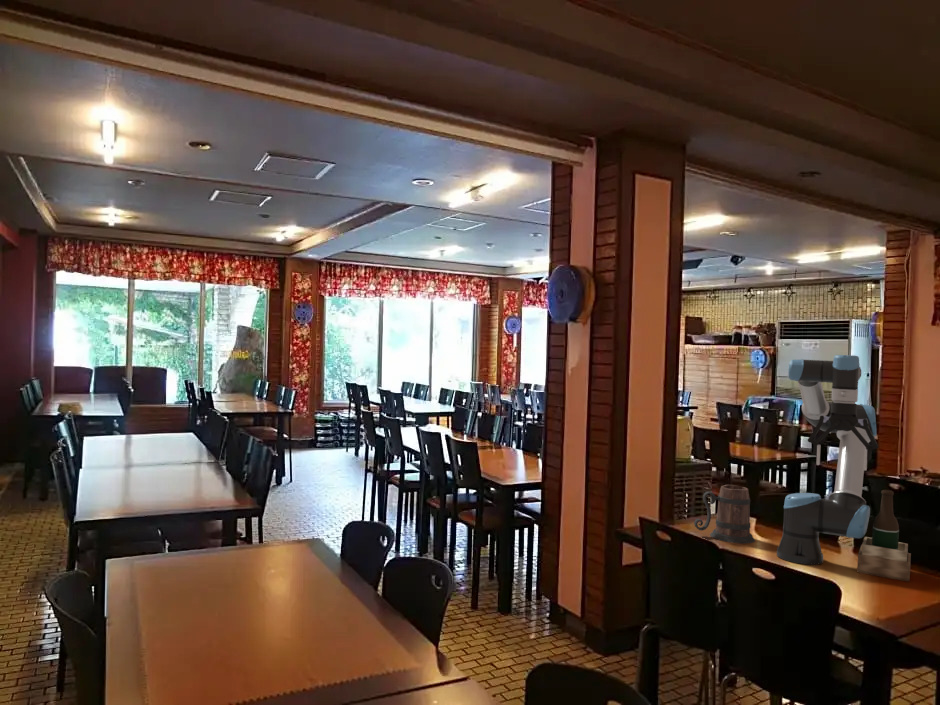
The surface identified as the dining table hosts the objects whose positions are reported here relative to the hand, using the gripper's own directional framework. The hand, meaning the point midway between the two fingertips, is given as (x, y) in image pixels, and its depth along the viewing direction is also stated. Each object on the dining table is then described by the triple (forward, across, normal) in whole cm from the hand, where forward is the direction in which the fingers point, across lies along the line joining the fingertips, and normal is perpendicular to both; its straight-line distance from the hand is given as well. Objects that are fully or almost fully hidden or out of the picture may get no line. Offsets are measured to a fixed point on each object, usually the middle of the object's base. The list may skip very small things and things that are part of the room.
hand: (841, 467), depth 227 cm
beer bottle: (+33, +13, +22) cm, 42 cm away
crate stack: (+37, +13, +22) cm, 45 cm away
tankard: (+37, -42, +31) cm, 64 cm away
